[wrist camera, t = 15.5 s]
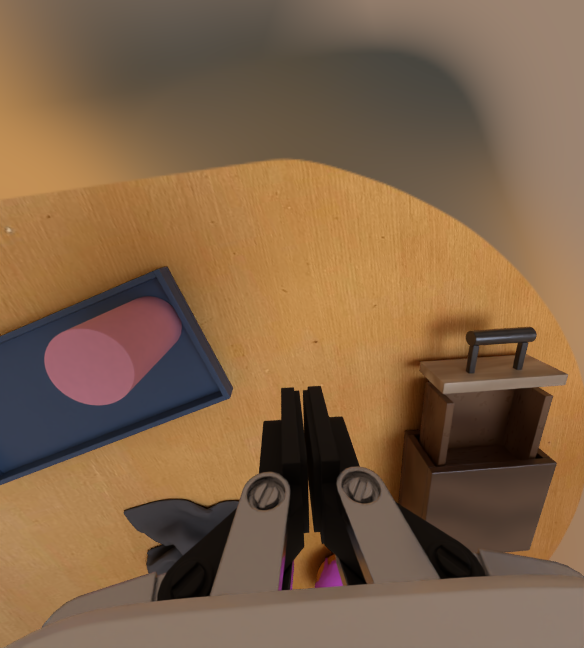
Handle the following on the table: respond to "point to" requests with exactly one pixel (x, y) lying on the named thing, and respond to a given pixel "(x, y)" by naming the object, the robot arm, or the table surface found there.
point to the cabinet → (477, 497)
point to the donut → (328, 574)
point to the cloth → (175, 527)
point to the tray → (98, 420)
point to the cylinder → (112, 350)
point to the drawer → (486, 402)
